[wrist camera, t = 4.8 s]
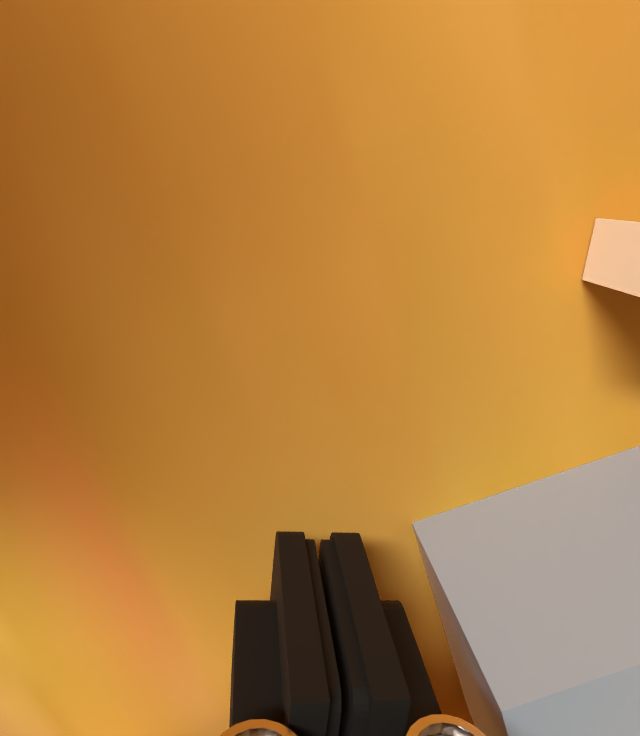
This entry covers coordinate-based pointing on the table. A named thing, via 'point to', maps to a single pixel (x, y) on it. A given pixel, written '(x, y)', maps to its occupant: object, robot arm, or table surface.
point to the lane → (614, 256)
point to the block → (545, 601)
